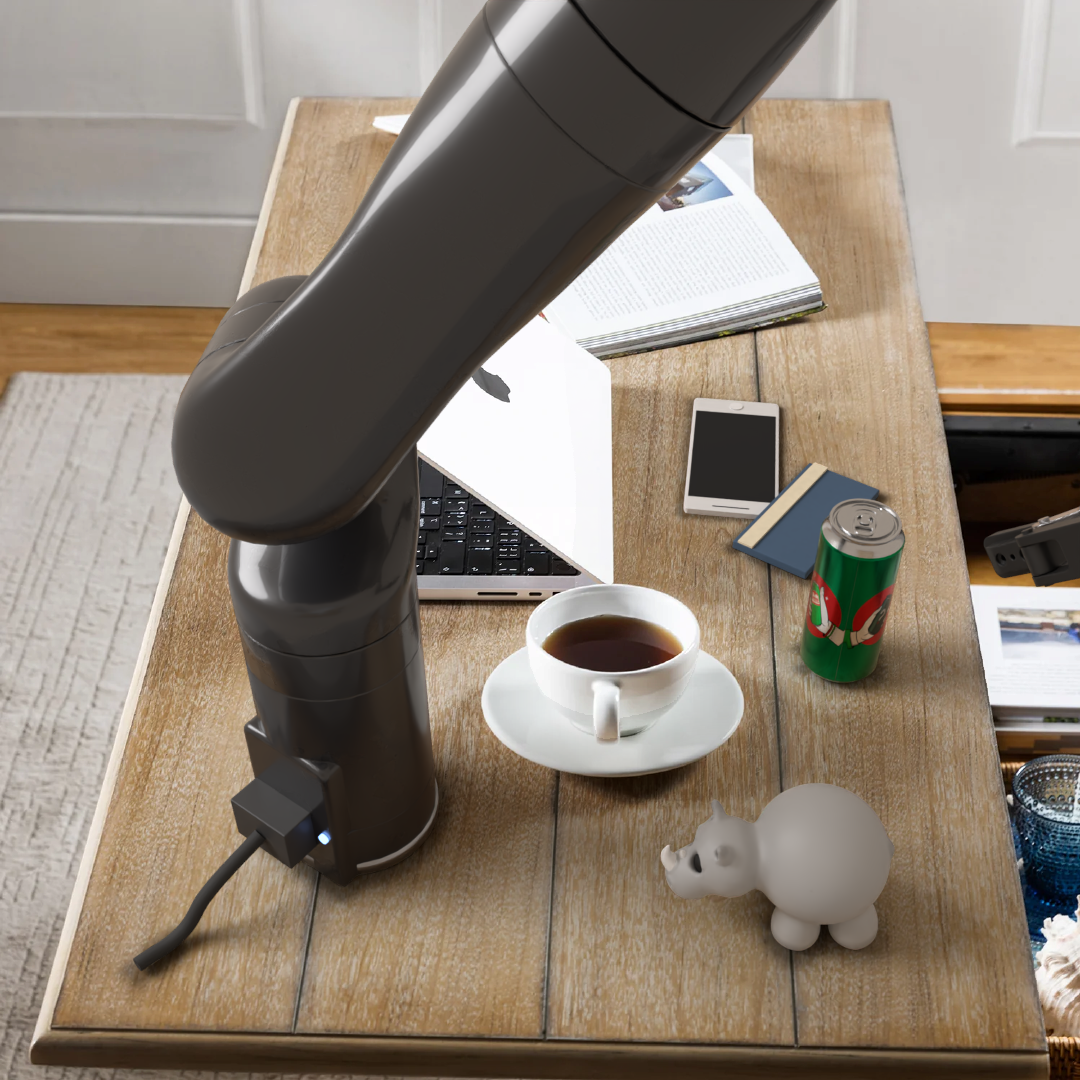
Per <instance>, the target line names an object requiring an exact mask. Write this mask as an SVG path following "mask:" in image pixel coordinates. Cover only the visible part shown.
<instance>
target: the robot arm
mask: <svg viewBox="0 0 1080 1080" xmlns="http://www.w3.org/2000/svg"><path fill="white" fill-rule="evenodd" d="M838 1H839V0H487V1H486V2H485V3H484V5H483V6H482V8H481V9H480V10H479V12H478V13H477V14H476V16H475V17H474V18H473V19H472V21H471V22H470V23H469V25H468V26H467V28H466V30H465V31H464V32H463V34H462V35H461V36H460V38H459V39H458V41H457V42H456V44H454V46H453V48H452V49H451V51H450V52H449V54H448V55H447V57H446V58H445V60H444V61H443V62H442V64H441V66H440V67H439V68H438V70H437V72H436V74H435V75H434V77H433V78H432V79H431V81H430V82H429V84H428V86H427V87H426V89H425V91H424V92H423V94H421V97H420V98H419V100H418V102H417V103H416V105H415V107H414V108H413V110H412V112H411V113H410V115H409V117H408V118H407V120H406V122H405V123H404V125H403V127H402V128H401V130H400V131H399V134H398V136H397V137H396V139H395V140H394V142H393V144H392V146H391V147H390V149H389V151H388V153H387V155H386V156H385V158H384V160H383V161H382V164H381V166H380V167H379V169H378V171H377V172H376V174H375V175H374V178H373V179H372V181H371V183H370V184H369V186H368V188H367V190H366V192H365V194H364V196H363V197H362V199H361V201H360V203H359V205H358V207H357V208H356V210H355V212H354V213H353V216H352V217H351V218H350V220H349V221H348V223H347V224H346V226H345V227H344V230H343V231H342V232H341V234H340V236H339V237H338V238H337V240H336V241H335V243H334V244H333V246H332V247H331V248H330V250H329V251H328V252H327V253H326V255H325V256H324V258H323V259H322V260H321V261H320V262H319V264H318V265H317V266H316V267H315V268H314V269H313V271H312V272H311V273H310V274H291V275H284V276H280V277H276V278H273V279H270V280H266V281H264V282H262V283H260V284H257V285H256V286H254V287H252V288H251V289H249V290H248V291H246V292H245V293H244V294H242V296H240V297H239V298H238V299H237V300H236V301H235V302H234V303H233V304H232V306H231V307H230V308H229V309H228V310H227V311H226V313H224V316H223V317H222V318H221V320H220V322H219V324H218V325H217V327H216V329H215V331H214V332H213V335H212V336H211V338H210V339H209V341H208V342H207V344H206V346H205V348H204V349H203V351H202V353H201V355H200V357H199V359H198V360H197V362H196V364H195V367H193V370H192V371H191V373H190V375H189V377H188V379H187V381H186V382H185V384H184V386H183V388H182V391H181V392H180V395H179V398H178V402H177V404H176V407H175V411H174V413H173V418H172V419H173V420H172V429H171V430H172V431H171V438H170V449H171V459H172V466H173V468H174V473H175V476H176V480H177V483H178V485H179V487H180V489H181V491H182V493H183V495H184V497H185V499H186V501H187V503H188V504H189V505H190V506H191V508H192V509H193V510H194V511H195V512H196V514H197V515H198V516H199V517H200V519H202V520H203V521H204V522H205V523H206V524H207V525H209V527H211V528H213V529H214V530H216V531H217V532H219V533H221V534H222V535H224V536H227V537H230V541H229V542H230V543H229V547H228V555H227V556H228V557H227V565H226V566H227V567H226V572H227V573H226V574H227V582H228V583H227V584H228V589H229V593H230V599H231V603H232V608H233V612H234V615H235V620H236V625H237V629H238V633H239V639H240V643H241V647H242V652H243V657H244V662H245V666H246V670H247V676H248V680H249V686H250V690H251V691H250V692H251V696H252V700H253V705H254V709H255V716H253V717H251V719H250V720H248V721H247V722H246V723H245V724H244V726H243V734H244V739H245V742H246V747H247V752H248V755H249V760H250V764H251V769H252V773H253V779H252V780H251V781H250V782H249V783H248V784H247V785H245V786H244V787H243V788H242V789H240V791H238V792H237V793H236V794H235V795H234V796H232V797H231V798H230V800H229V801H230V804H231V809H232V812H233V816H234V820H235V824H236V829H237V832H238V833H239V834H241V836H243V837H244V838H246V839H245V840H244V841H243V842H242V843H241V844H240V845H239V846H238V847H237V848H236V849H235V850H234V852H232V853H231V854H230V856H228V857H227V859H226V860H225V861H224V862H223V863H222V864H221V865H220V866H219V867H218V868H217V870H215V872H213V874H212V875H211V876H210V877H209V879H208V880H207V881H206V882H205V883H204V885H203V886H202V887H201V888H200V890H199V891H198V892H197V894H196V896H195V897H194V899H193V900H192V902H191V904H190V905H189V908H188V910H187V911H186V914H185V916H184V917H183V918H182V920H181V921H180V922H179V923H178V925H176V927H175V928H174V929H173V930H172V931H171V932H170V933H168V935H165V937H163V938H162V939H161V940H159V941H158V942H156V943H154V944H153V945H152V946H150V947H148V948H147V949H145V950H143V951H142V952H140V953H139V954H137V955H136V956H134V957H133V958H132V961H133V963H134V965H135V966H136V968H137V969H138V970H139V971H140V972H143V971H144V970H146V969H147V968H148V967H150V966H152V965H153V964H155V963H156V962H158V961H160V960H161V959H162V958H165V957H166V956H167V955H168V954H170V953H172V952H173V951H174V950H176V949H177V948H178V947H179V946H180V945H181V944H183V943H184V941H186V939H188V938H189V936H190V935H191V934H192V933H193V932H194V931H195V929H196V928H197V926H198V924H199V923H200V921H201V919H202V918H203V916H204V913H205V912H206V910H207V908H208V906H209V905H210V903H211V902H212V900H213V899H214V898H215V896H216V895H217V894H218V893H219V892H220V891H221V889H222V888H223V887H224V886H225V884H226V883H227V882H228V881H229V880H230V879H231V878H232V877H233V876H234V874H236V873H237V871H239V869H240V868H241V867H242V866H243V865H244V864H245V863H246V862H247V861H248V860H249V859H250V857H252V856H253V854H254V853H255V852H256V851H257V850H259V848H260V849H261V850H263V851H264V852H266V853H267V854H269V855H270V856H271V857H273V858H274V859H276V860H277V861H279V862H280V863H282V864H283V865H284V866H286V867H287V868H289V869H290V870H292V869H294V868H295V867H296V866H297V865H298V864H299V863H300V862H302V863H304V864H306V865H307V866H308V867H311V868H313V869H315V870H316V871H317V872H319V873H320V874H321V875H323V876H324V877H326V878H327V879H329V880H330V881H332V882H333V883H335V884H336V885H338V886H339V887H342V888H343V887H347V886H348V885H349V884H350V883H351V882H352V881H353V880H354V879H355V878H357V877H358V876H361V875H367V874H373V873H376V872H380V871H383V870H386V869H388V868H391V867H393V866H396V865H397V864H400V863H401V862H403V861H404V860H406V859H407V858H409V857H410V856H411V855H413V854H414V853H415V852H416V851H418V849H420V848H421V846H422V845H423V844H424V843H425V842H426V840H428V838H429V837H430V835H431V833H432V831H433V829H434V827H435V825H436V823H437V819H438V816H439V811H440V810H439V809H440V797H439V788H438V787H439V786H438V783H437V779H436V774H435V773H436V772H435V762H434V761H435V760H434V752H433V741H432V731H431V730H432V729H431V721H430V720H431V719H430V709H429V708H430V707H429V697H428V687H427V675H426V665H425V664H426V663H425V652H424V641H423V632H422V617H421V608H420V607H421V605H420V596H419V585H418V573H417V572H418V571H417V557H418V556H417V555H418V545H419V535H420V522H421V495H420V493H421V492H420V475H419V456H418V443H419V442H420V440H421V439H422V438H423V436H424V435H425V434H426V433H427V431H428V430H429V428H430V427H431V426H432V425H433V423H434V422H435V421H436V420H437V419H438V417H439V416H440V415H441V413H442V412H443V411H444V410H445V409H446V407H447V406H448V405H449V404H450V402H451V401H452V400H453V399H454V398H455V396H456V395H457V394H458V393H459V391H460V390H461V389H462V388H463V387H464V386H465V384H467V382H468V381H470V379H471V378H472V377H473V376H474V375H475V374H476V373H477V372H478V371H479V369H481V367H483V366H484V364H486V362H487V361H488V360H489V359H490V358H492V356H494V355H495V354H496V353H497V352H498V351H499V350H500V349H501V348H502V347H503V346H504V345H505V344H507V343H508V341H510V340H511V339H512V338H513V337H514V336H516V335H517V334H518V333H519V332H520V331H521V330H522V329H523V328H525V327H526V326H527V325H528V324H529V323H530V322H532V321H533V320H534V318H536V317H537V316H538V315H540V313H541V312H542V311H544V309H546V308H547V307H548V306H549V305H550V304H551V303H552V302H553V301H555V300H556V298H557V297H559V296H560V295H561V294H562V293H563V292H564V291H566V289H567V288H568V287H570V286H571V284H572V283H574V282H575V281H576V280H577V279H578V278H579V277H580V276H581V275H582V274H583V272H585V271H586V270H587V269H588V268H589V267H590V266H591V265H592V264H593V263H595V261H596V260H597V259H598V258H599V257H600V256H602V255H603V253H605V252H606V251H607V250H608V248H610V247H611V246H612V245H613V244H614V243H615V242H616V240H618V239H619V238H620V237H621V235H623V234H624V233H625V232H626V231H627V230H628V229H629V228H630V227H631V226H632V225H633V224H634V223H635V222H636V221H638V220H639V219H640V218H641V217H642V216H643V215H645V214H646V213H647V212H648V211H649V210H650V209H651V208H653V206H655V205H656V204H657V203H658V202H659V201H660V200H661V199H662V198H663V197H664V196H665V195H666V194H668V193H669V192H670V191H671V190H672V189H673V188H674V187H675V186H677V184H678V183H680V181H681V180H682V179H684V177H685V176H687V174H688V173H689V172H690V171H691V170H692V169H694V167H696V166H697V164H698V163H700V161H701V160H702V159H703V158H704V157H705V156H707V154H708V153H709V152H710V151H712V150H713V148H714V147H715V146H716V145H718V144H719V143H720V141H721V140H722V139H723V138H725V137H726V136H727V134H729V132H730V131H732V129H733V128H734V127H735V126H736V125H738V123H740V121H741V120H742V119H743V118H744V117H745V116H746V115H747V114H748V113H749V111H750V110H751V109H752V108H753V107H754V106H755V105H756V104H757V102H758V101H759V100H760V99H761V98H762V97H763V96H764V94H765V93H766V92H768V90H769V89H770V88H771V86H772V85H773V84H774V83H775V82H776V81H777V79H778V78H779V77H780V76H781V75H782V73H783V72H784V71H785V70H786V69H787V68H788V66H790V64H791V62H792V61H793V60H794V59H795V58H796V56H797V55H798V54H799V53H800V51H801V50H802V49H803V47H804V46H805V45H806V44H807V42H808V41H809V39H810V38H811V37H812V36H813V35H814V33H815V31H817V29H818V28H819V27H820V25H822V22H824V20H825V19H826V17H827V16H828V14H829V13H830V12H831V10H832V9H833V7H834V6H835V5H836V4H837V2H838ZM983 547H984V550H985V552H986V555H987V557H988V559H989V561H990V563H991V566H992V568H993V570H994V572H995V574H996V575H997V576H998V577H999V578H1001V579H1009V578H1013V577H1014V578H1015V577H1018V576H1019V577H1020V576H1024V575H1028V574H1031V578H1032V581H1033V583H1034V585H1035V588H1040V587H1045V588H1047V587H1050V586H1051V587H1052V586H1054V585H1055V584H1060V583H1064V582H1070V581H1074V580H1078V579H1079V580H1080V506H1078V507H1075V508H1073V509H1070V510H1067V511H1064V512H1062V513H1058V514H1056V515H1054V516H1048V515H1047V516H1044V517H1040V518H1039V519H1037V521H1035V522H1031V523H1028V524H1024V525H1019V526H1016V527H1012V528H1008V529H1003V530H999V531H996V532H994V533H992V534H991V535H989V536H986V537H985V538H984V540H983Z"/></svg>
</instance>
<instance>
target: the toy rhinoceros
mask: <svg viewBox="0 0 1080 1080" xmlns="http://www.w3.org/2000/svg"><path fill="white" fill-rule="evenodd" d="M710 805H711V811H712V813H711V814H712V815H710V816H709V818H708V819H706V820H705V822H703V823H701V824H699V825H698V826H697V828H696V831H695V836H694V838H693V841H692V842H690V843H688V844H687V845H685V846H683V847H680V848H679V849H677V850H676V851H674V852H673V851H671V845H670V844H667V845H666V846H664V847H663V849H662V850H661V852H660V862H661V864H662V865H663V867H664V876H665V880H666V883H667V885H668V887H669V888H670V890H671V891H672V893H674V894H675V895H676V896H677V897H679V898H681V899H683V900H688V901H697V900H700V899H701V900H702V899H703V898H705V897H707V896H711V895H714V896H720V897H723V898H739V897H742V896H745V895H746V894H748V893H749V892H751V891H753V890H758V891H760V892H761V893H762V894H764V895H765V897H766V898H767V899H768V900H769V901H770V903H772V904H773V905H774V906H775V907H774V909H773V911H772V915H771V919H770V932H771V934H772V937H773V938H774V940H775V941H776V942H777V943H778V944H780V945H781V946H782V947H784V948H786V949H788V950H791V951H793V952H794V951H795V952H801V951H805V950H808V949H810V948H811V947H812V946H813V945H814V944H815V943H816V942H817V940H818V939H819V936H820V932H821V925H827V929H828V932H829V934H830V936H831V938H832V939H833V940H834V942H836V943H837V944H838V945H839V946H842V947H843V948H846V949H849V950H853V951H856V950H861V949H864V948H866V947H868V946H869V945H871V944H872V943H873V942H874V940H875V939H876V937H877V934H878V931H879V919H878V918H879V917H878V913H877V910H876V907H875V904H874V903H875V902H876V901H877V900H878V898H879V897H880V895H881V894H882V892H883V890H884V889H885V886H886V885H887V881H888V878H889V875H890V871H891V864H892V860H893V857H894V855H895V851H896V847H895V844H894V843H893V841H892V840H891V838H890V837H889V835H888V833H887V830H886V827H885V825H884V824H883V822H882V820H881V818H880V816H879V815H878V814H877V812H876V811H875V809H873V808H872V806H871V805H870V804H869V803H868V802H867V801H865V799H864V798H862V797H860V796H859V795H858V794H856V793H855V792H852V791H851V790H849V789H847V788H845V787H842V786H838V785H835V784H831V783H825V782H810V783H808V782H807V783H802V784H798V785H795V786H792V787H790V788H788V789H786V790H784V791H782V792H780V793H778V795H776V796H775V797H774V798H772V799H771V800H770V801H769V802H768V803H767V804H766V805H765V807H764V808H763V810H762V811H761V813H760V814H759V816H758V818H757V819H756V821H755V822H750V821H749V820H748V821H747V820H746V819H744V818H742V817H739V816H735V815H730V814H728V813H727V812H726V810H725V807H724V806H723V804H722V803H721V802H720V801H719V800H718V799H715V798H714V799H712V801H711V803H710Z"/></svg>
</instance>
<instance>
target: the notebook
mask: <svg viewBox="0 0 1080 1080" xmlns="http://www.w3.org/2000/svg"><path fill="white" fill-rule="evenodd" d="M879 495H880V489H878V488H876V487H873V486H871V485H867V484H865V483H862V482H861V481H857V480H855V479H852V478H850V477H847V476H845V475H842V474H840V473H838V472H834V471H832V470H830V469H829V467H828V466H826V465H823V464H820V463H817V462H816V461H814V462H813V463H812V462H809V463H807V465H806V466H805V467H804V468H803V469H801V471H800V472H799V473H798V474H797V475H796V476H795V477H794V478H793V479H792V480H791V481H790V482H789V483H788V484H787V485H786V486H785V487H784V488H783V489H782V490H781V492H779V495H778V496H777V497H776V498H775V499H774V500H773V501H772V502H771V503H770V504H769V505H768V506H767V507H766V508H765V509H764V510H763V511H762V512H761V513H760V514H759V515H758V516H757V517H756V518H755V519H752V521H751V522H750V523H749V524H748V525H747V526H746V527H745V528H744V529H743V530H742V531H741V532H740V533H739V534H738V535H737V536H736V537H735V539H733V540H732V548H733V549H734V550H737V551H739V552H741V553H743V554H746V555H749V556H751V557H752V558H755V559H757V560H759V561H762V562H765V563H766V564H768V565H771V566H773V567H775V568H778V569H780V570H782V571H784V572H787V573H789V574H792V575H794V576H796V577H798V578H801V579H802V580H807V578H808V577H809V576H810V575H811V573H813V569H814V564H815V558H816V552H817V547H818V541H819V535H820V529H821V525H822V523H823V521H824V519H825V518H826V517H827V516H829V514H830V512H831V510H832V508H833V507H834V506H835V505H837V504H838V503H840V502H842V501H845V500H849V499H870V500H874V501H877V499H878V497H879Z"/></svg>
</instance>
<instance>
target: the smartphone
mask: <svg viewBox="0 0 1080 1080" xmlns="http://www.w3.org/2000/svg"><path fill="white" fill-rule="evenodd" d="M692 408H693V409H692V418H691V427H690V437H689V449H688V450H689V451H688V458H687V469H686V478H685V488H684V498H683V512H684V513H685V514H690V515H699V516H701V515H702V516H714V517H724V518H725V517H726V518H736V519H747V520H754V519H755V518H756V517H757V516H758V515H759V514H760V513H761V512H762V511H763V510H764V509H765V508H766V507H767V506H768V505H769V504H770V503H771V502H772V501H773V500H774V499H775V498H776V497H777V496H778V495H779V494H780V491H779V489H780V487H779V480H780V479H779V477H780V474H779V471H780V466H779V465H780V407H779V405H778V404H777V403H773V402H772V403H771V402H758V401H747V400H745V401H744V400H735V399H734V400H733V399H723V398H722V399H720V398H710V397H709V398H708V397H696V398H694V400H693V407H692Z"/></svg>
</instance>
